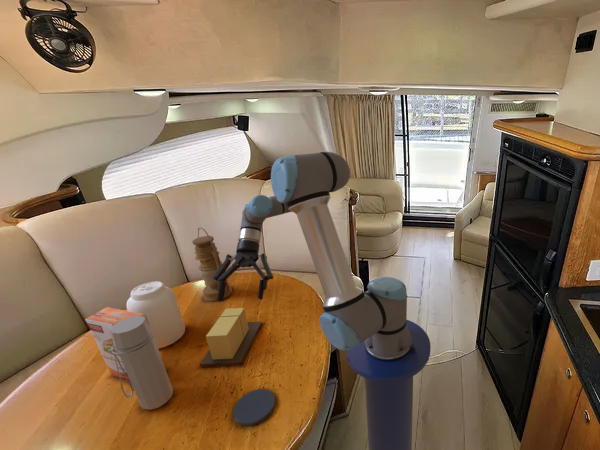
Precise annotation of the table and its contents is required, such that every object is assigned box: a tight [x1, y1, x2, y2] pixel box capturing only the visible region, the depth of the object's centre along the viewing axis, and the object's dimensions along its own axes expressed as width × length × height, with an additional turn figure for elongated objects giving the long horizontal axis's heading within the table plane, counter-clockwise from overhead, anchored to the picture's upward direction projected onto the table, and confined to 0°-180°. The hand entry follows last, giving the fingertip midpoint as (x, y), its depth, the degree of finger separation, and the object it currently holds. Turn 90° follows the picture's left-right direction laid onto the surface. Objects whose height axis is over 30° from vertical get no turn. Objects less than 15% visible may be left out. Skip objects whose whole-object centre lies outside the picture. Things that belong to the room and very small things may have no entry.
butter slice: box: [220, 307, 249, 337], centre depth 105 cm, size 6×4×9 cm, turn 94°
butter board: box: [199, 321, 263, 368], centre depth 103 cm, size 12×19×1 cm, turn 4°
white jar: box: [126, 280, 186, 350], centre depth 103 cm, size 12×12×20 cm
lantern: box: [191, 227, 233, 303], centre depth 125 cm, size 15×10×30 cm
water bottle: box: [110, 316, 174, 411], centre depth 79 cm, size 9×8×25 cm
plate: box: [232, 388, 276, 427], centre depth 82 cm, size 10×10×1 cm
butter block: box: [205, 316, 244, 360], centre depth 98 cm, size 6×9×9 cm, turn 4°
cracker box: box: [85, 306, 167, 381], centre depth 88 cm, size 14×6×21 cm, turn 76°
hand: (240, 299), depth 109 cm, fingers open, 13 cm apart
